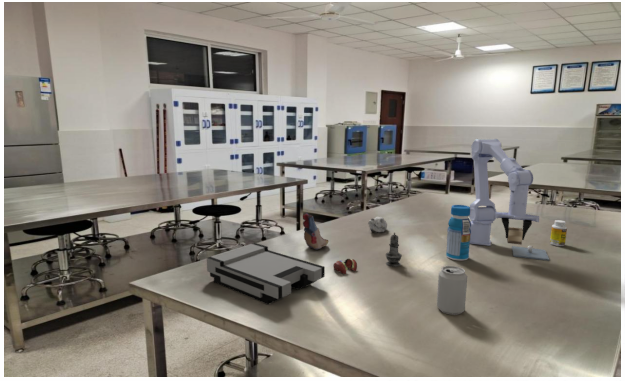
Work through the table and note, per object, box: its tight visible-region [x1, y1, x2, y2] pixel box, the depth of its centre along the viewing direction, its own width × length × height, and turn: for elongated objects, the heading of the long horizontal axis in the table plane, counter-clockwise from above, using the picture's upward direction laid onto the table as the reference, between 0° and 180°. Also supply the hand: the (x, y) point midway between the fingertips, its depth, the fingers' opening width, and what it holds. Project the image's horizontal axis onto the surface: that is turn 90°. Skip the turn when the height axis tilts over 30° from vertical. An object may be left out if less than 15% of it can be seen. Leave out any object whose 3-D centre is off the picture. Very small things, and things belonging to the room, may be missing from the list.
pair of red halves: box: [332, 258, 358, 275], centre depth 141 cm, size 6×4×8 cm
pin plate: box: [511, 245, 550, 262], centre depth 159 cm, size 12×12×3 cm
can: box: [436, 265, 468, 316], centre depth 111 cm, size 8×8×12 cm
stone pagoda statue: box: [385, 232, 403, 268], centre depth 146 cm, size 6×6×12 cm
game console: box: [206, 242, 326, 305], centre depth 129 cm, size 21×32×8 cm, turn 51°
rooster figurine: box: [302, 212, 329, 251], centre depth 164 cm, size 9×13×15 cm
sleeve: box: [506, 226, 523, 246], centre depth 150 cm, size 5×5×5 cm
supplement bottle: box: [549, 219, 568, 247], centre depth 170 cm, size 6×6×10 cm
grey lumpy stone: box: [367, 216, 388, 233], centre depth 188 cm, size 8×9×12 cm
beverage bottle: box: [445, 204, 471, 262], centre depth 153 cm, size 8×8×20 cm
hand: (514, 238), depth 151 cm, fingers closed on sleeve, 5 cm apart
